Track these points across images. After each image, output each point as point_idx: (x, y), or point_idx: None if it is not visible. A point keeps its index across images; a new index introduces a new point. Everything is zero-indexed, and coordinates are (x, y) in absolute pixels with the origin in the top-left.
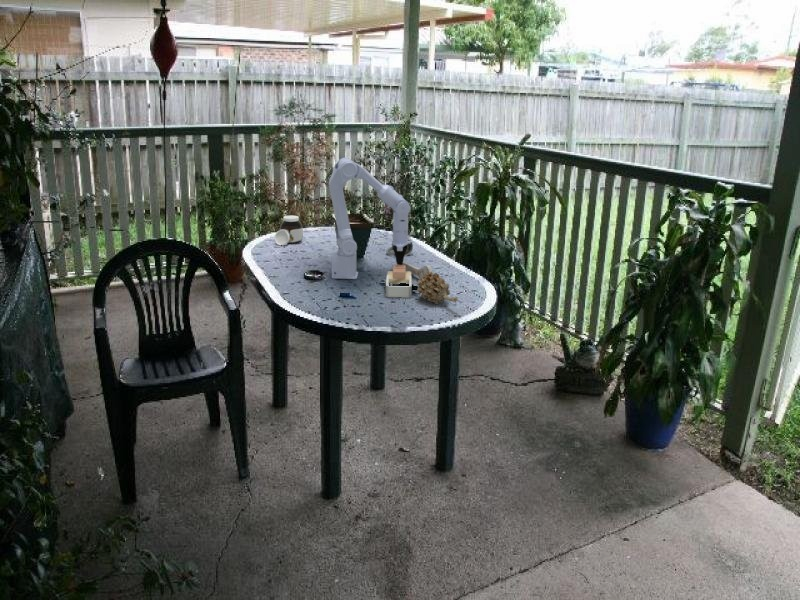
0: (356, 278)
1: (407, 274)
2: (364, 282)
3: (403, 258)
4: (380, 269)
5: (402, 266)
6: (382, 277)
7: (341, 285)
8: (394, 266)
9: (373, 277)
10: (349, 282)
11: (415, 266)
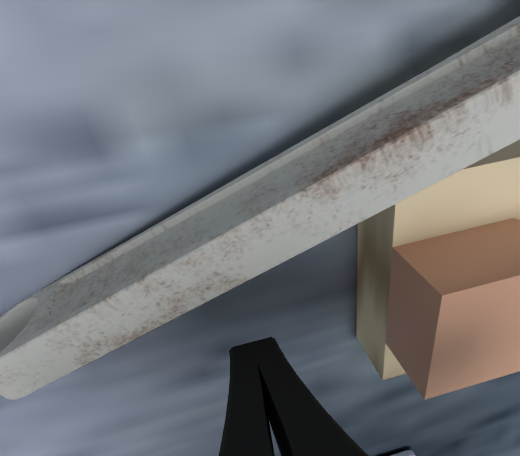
0: (411, 451)
1: (506, 199)
2: (461, 401)
3: (319, 403)
4: (167, 431)
5: (500, 308)
6: (364, 359)
7: (494, 452)
8: (487, 374)
9: (367, 399)
10: (455, 447)
11: (374, 158)
